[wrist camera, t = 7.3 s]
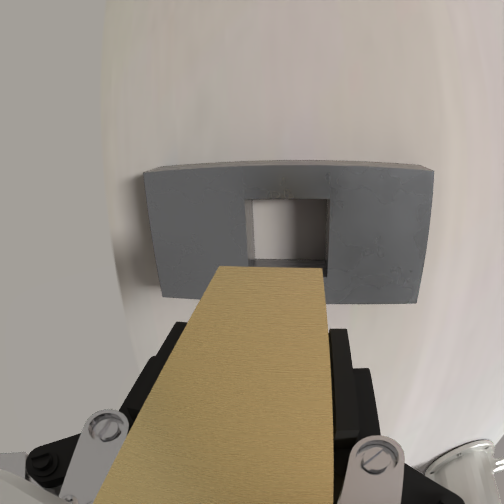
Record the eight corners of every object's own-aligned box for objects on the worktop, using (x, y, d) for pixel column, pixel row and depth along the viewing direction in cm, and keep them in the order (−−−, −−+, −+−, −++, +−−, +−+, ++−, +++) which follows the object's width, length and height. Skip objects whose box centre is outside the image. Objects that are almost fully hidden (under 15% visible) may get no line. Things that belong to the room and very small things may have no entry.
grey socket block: (419, 165, 21) (434, 171, 18) (406, 285, 25) (416, 303, 22) (160, 166, 24) (143, 172, 21) (175, 280, 28) (162, 296, 25)
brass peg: (322, 268, 12) (330, 554, 3) (316, 349, 14) (306, 578, 4) (219, 265, 13) (90, 507, 4) (227, 345, 14) (154, 555, 5)
